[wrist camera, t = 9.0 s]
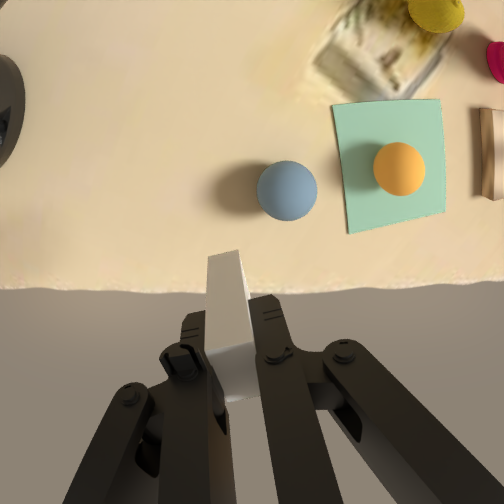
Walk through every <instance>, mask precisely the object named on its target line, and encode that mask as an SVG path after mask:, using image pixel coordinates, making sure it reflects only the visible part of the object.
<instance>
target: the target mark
mask: <svg viewBox="0 0 504 504" xmlns="http://www.w3.org/2000/svg"><path fill="white" fill-rule="evenodd" d="M332 109H333V114H334V120H335V126H336V132H337V139H338V145H339V152H340V159H341V167H342V174H343V183H344V191H345V201H346V210H347V221H348V233H349V234H353V233H357V232H361V231H366V230H370V229H374V228H378V227H383V226H387V225H391V224H395V223H399V222H404V221H408V220H412V219H416V218H420V217H425V216H429V215H433V214H437V213H441V212H445V211H446V165H445V145H444V131H443V121H442V111H441V103H440V99H423V100H391V101H374V102H361V103H350V104H340V105H332ZM393 142H401V143H406V144H408V145H410V146H412V147H413V148H415V149H416V150H417V151H418V152H419V154H420V155H421V157H422V159H423V161H424V165H425V177H424V180H423V182H422V184H421V186H420V187H419V188H418V189H417V190H416V191H415V192H414V193H412V194H409V195H406V196H395V195H392V194H390V193H388V192H386V191H385V190H384V189H382V188H381V186H380V185H379V184H378V182H377V181H376V178H375V176H374V171H373V164H374V159H375V157H376V155H377V153H378V152H379V150H380V149H381V148H382V147H384V146H385V145H387V144H390V143H393Z"/></svg>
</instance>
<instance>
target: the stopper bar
mask: <svg viewBox="0 0 504 504" xmlns="http://www.w3.org/2000/svg"><path fill="white" fill-rule="evenodd" d="M479 111H480V123H481V139H482V196H484V197H486V198H488V199H490V200H492V201H496V200H500V199H504V111H503V110H496V109H481V108H479Z"/></svg>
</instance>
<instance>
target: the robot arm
mask: <svg viewBox="0 0 504 504" xmlns="http://www.w3.org/2000/svg"><path fill="white" fill-rule="evenodd" d="M6 2H7V0H0V9H1V8H2V7H3V5H4V4H5V3H6ZM24 111H25V89H24V83H23V79H22V75H21V73H20V70H19V68H18V67H17V65H16V64H15V63H14V61H13V60H11V59H10V58H9V57H7V56H5V55H1V54H0V167H1V166H2V165H3V164H4V163H5V162H6V161H7V159H8V158H9V156H10V155H11V153H12V151H13V149H14V147H15V145H16V143H17V140H18V138H19V135H20V131H21V128H22V124H23V119H24ZM180 339H181V340H180V342H178V343H174V344H172V345H170V346H169V347H167V348H166V349H165V350H164V351H163V352H162V353H161V355H160V357H159V360H160V362H161V364H162V366H163V367H164V369H165V371H166V373H167V374H168V376H169V377H168V379H167V380H166V381H164V382H162V383H160V384H158V385H156V386H153V387H151V388H148V389H147V387H146V386H145V385H143V384H141V383H138V382H135V383H129V384H126V385H124V386H123V387H121V388H120V389H119V390H118V391H117V392H116V394H115V396H114V397H113V399H112V401H111V403H110V405H109V407H108V409H107V411H106V413H105V415H104V417H103V418H102V420H101V423H100V425H99V426H98V429H97V430H96V433H95V434H94V437H93V439H92V441H91V443H90V445H89V447H88V449H87V451H86V453H85V455H84V457H83V459H82V462H81V464H80V466H79V468H78V470H77V472H76V474H75V477H74V479H73V481H72V483H71V485H70V487H69V490H68V492H67V494H66V496H65V499H64V501H63V503H62V504H237V503H236V492H235V482H234V472H233V461H232V449H231V437H230V425H229V414H228V411H227V408H226V406H225V401H224V396H225V398H226V400H227V402H232V401H237V400H243V399H248V398H253V397H257V396H261V401H262V408H263V413H264V419H265V426H266V432H267V438H268V444H269V450H270V455H271V462H272V467H273V473H274V479H275V485H276V490H277V496H278V501H279V504H343V500H342V497H341V493H340V490H339V487H338V484H337V480H336V477H335V473H334V470H333V467H332V464H331V460H330V457H329V454H328V450H327V447H326V444H325V440H324V437H323V434H322V430H321V427H320V424H319V421H318V418H317V414H316V411H315V410H328V412H329V413H330V414H331V416H332V417H333V419H334V420H335V421H336V423H337V424H338V425H339V427H340V428H341V430H342V431H343V432H344V434H345V435H346V436H347V438H348V439H349V440H350V442H351V443H352V444H353V446H354V447H355V449H356V450H357V451H358V453H359V454H360V455H361V456H362V458H363V459H364V461H365V462H366V463H367V464H368V466H369V467H370V469H371V470H372V471H373V473H374V474H375V475H376V477H377V478H378V479H379V480H380V482H381V483H382V484H383V486H384V487H385V488H386V490H387V491H388V492H389V493H390V495H391V496H392V497H393V499H394V500H395V501H396V503H397V504H504V487H503V486H502V485H501V484H500V482H498V480H497V479H496V478H495V477H494V476H493V475H492V474H491V473H490V472H489V471H488V470H487V469H486V468H485V467H484V466H483V465H482V464H481V463H480V462H479V461H478V460H477V459H476V458H475V457H474V456H473V455H472V454H471V453H470V452H469V451H468V450H467V449H466V448H465V447H464V446H463V445H462V444H461V443H460V442H459V441H458V440H457V439H456V438H455V437H454V436H453V435H452V434H451V433H450V432H449V431H448V430H447V429H446V428H445V427H444V426H443V425H442V424H441V423H440V422H439V421H438V420H437V419H436V418H435V417H434V416H433V415H432V414H431V413H430V412H429V411H428V410H427V409H426V408H425V407H424V406H423V405H422V404H421V403H420V402H419V401H418V400H417V399H416V398H415V397H414V396H413V395H412V394H411V393H410V392H409V391H408V390H407V389H406V388H405V387H404V386H403V385H402V384H401V383H400V382H399V381H398V380H397V379H396V378H395V377H394V376H393V375H392V374H391V373H390V372H389V371H388V370H387V369H386V368H385V367H384V366H383V365H382V364H381V363H380V362H379V361H378V360H377V359H376V358H375V357H374V356H373V355H372V354H371V353H370V352H369V351H368V350H367V349H366V348H365V347H364V346H363V345H361V344H360V343H358V342H357V341H354V340H350V339H341V340H337V341H334V342H332V343H330V344H329V345H328V346H327V347H326V348H325V350H324V351H323V352H308V351H304V350H301V349H299V348H297V347H296V346H295V345H294V344H293V342H292V340H291V337H290V333H289V330H288V327H287V324H286V321H285V318H284V314H283V311H282V308H281V306H280V302H279V300H278V299H277V298H276V297H274V296H273V295H272V294H270V295H266V296H262V297H258V298H254V299H251V298H250V293H249V290H248V286H247V282H246V278H245V274H244V270H243V266H242V262H241V258H240V255H239V251H238V250H234V251H230V252H226V253H222V254H217V255H213V256H209V257H208V266H207V288H206V310H204V311H199V312H194V313H190V314H188V315H187V316H186V318H185V319H184V321H183V322H182V328H181V337H180Z"/></svg>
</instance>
